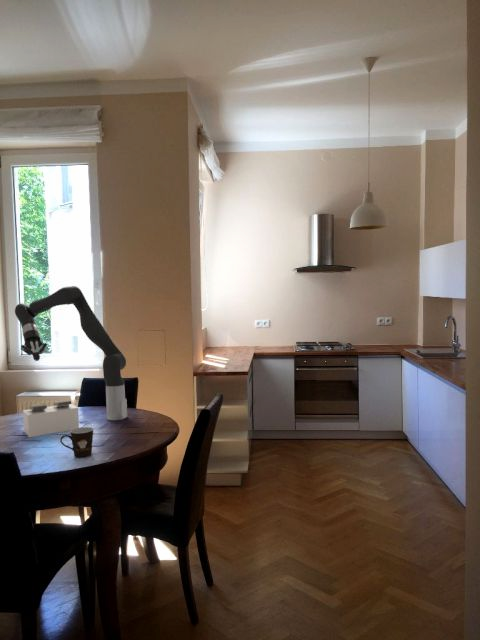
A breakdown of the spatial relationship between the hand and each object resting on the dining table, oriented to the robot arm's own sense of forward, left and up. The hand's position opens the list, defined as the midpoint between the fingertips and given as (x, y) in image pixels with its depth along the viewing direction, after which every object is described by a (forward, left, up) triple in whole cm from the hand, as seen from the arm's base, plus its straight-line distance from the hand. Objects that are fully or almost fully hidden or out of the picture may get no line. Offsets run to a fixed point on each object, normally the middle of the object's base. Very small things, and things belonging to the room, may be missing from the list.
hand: (37, 359), depth 237 cm
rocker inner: (-18, +9, -20) cm, 29 cm away
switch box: (-14, +13, -32) cm, 37 cm away
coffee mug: (-46, +45, -32) cm, 72 cm away
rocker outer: (-11, +17, -20) cm, 28 cm away
